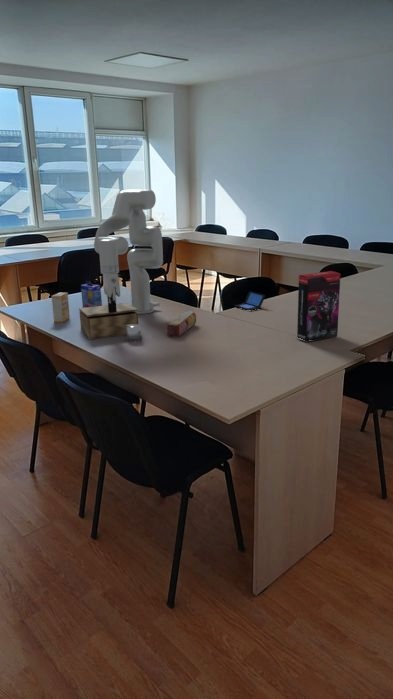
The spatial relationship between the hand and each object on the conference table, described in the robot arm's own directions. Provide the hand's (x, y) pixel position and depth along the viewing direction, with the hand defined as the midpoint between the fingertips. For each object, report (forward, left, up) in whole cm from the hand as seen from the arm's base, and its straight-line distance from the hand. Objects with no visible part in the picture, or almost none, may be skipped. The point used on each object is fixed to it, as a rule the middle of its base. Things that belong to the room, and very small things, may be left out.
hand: (112, 311), depth 223 cm
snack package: (-30, +6, -11) cm, 32 cm away
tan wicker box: (0, -8, -11) cm, 13 cm away
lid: (0, -8, -1) cm, 8 cm away
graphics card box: (-76, +41, -11) cm, 87 cm away
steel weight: (-6, +9, -11) cm, 15 cm away
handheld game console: (-77, -18, -11) cm, 80 cm away
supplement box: (+16, -36, -11) cm, 41 cm away
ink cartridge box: (-3, -55, -11) cm, 56 cm away
